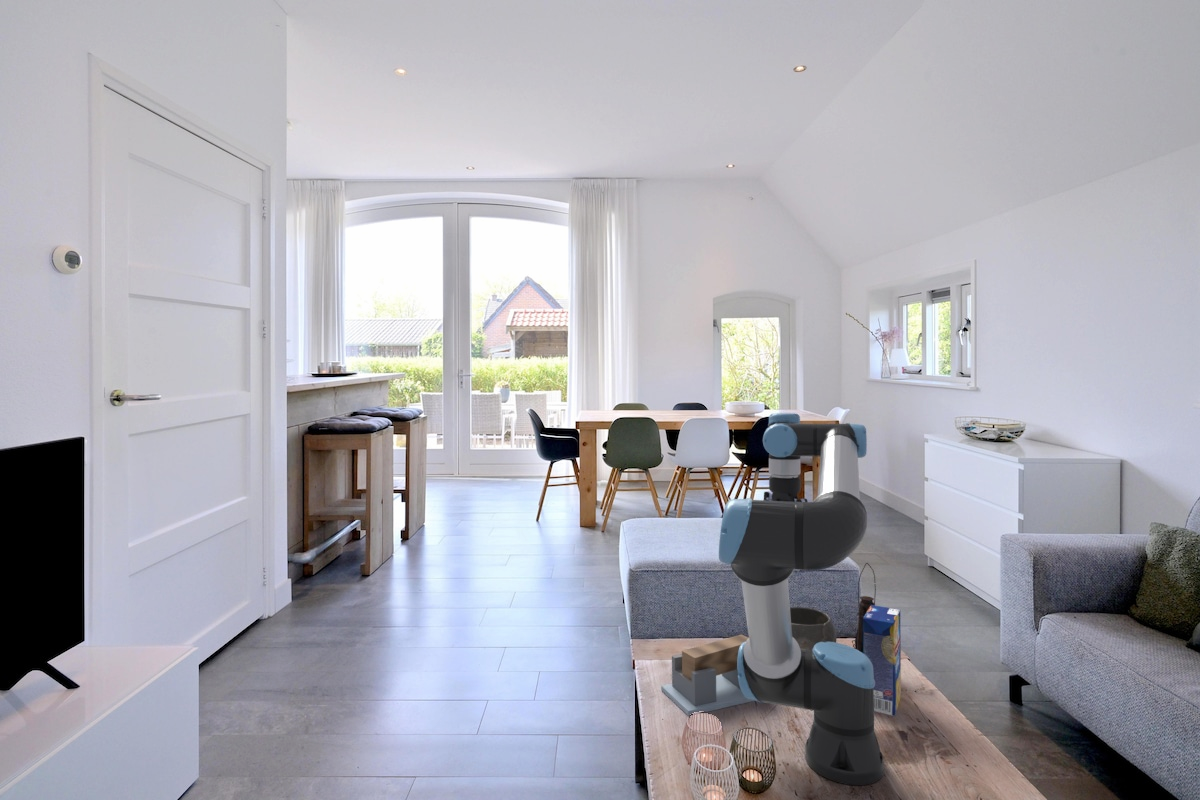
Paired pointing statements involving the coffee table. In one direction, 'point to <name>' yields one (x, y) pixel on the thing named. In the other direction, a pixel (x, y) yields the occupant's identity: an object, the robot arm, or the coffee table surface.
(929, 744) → the coffee table surface
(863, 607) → the lantern
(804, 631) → the bowl
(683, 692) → the bracket
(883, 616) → the beverage box
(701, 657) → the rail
